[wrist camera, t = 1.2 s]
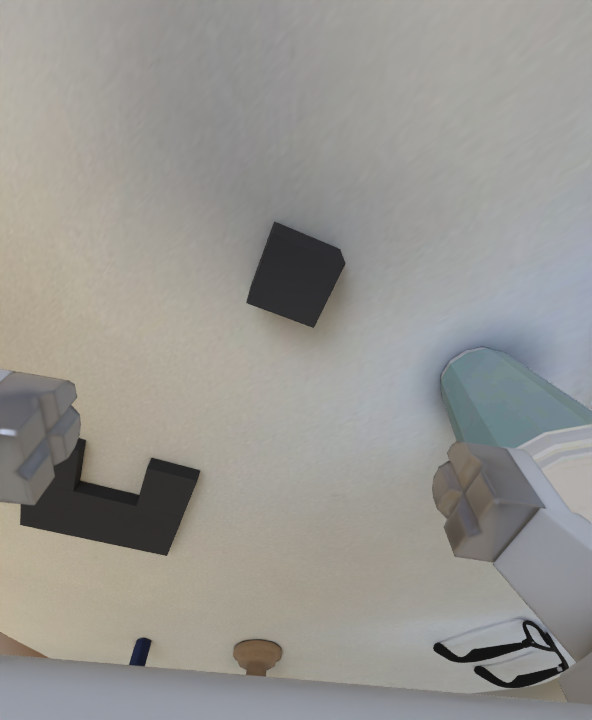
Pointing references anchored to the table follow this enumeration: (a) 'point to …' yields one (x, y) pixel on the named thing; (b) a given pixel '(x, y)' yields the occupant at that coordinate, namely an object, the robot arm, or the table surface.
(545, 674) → the glasses
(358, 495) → the table surface
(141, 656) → the eraser
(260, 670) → the candle holder
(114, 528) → the black u-shaped block
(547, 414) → the disposable coffee cup
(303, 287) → the black cube
